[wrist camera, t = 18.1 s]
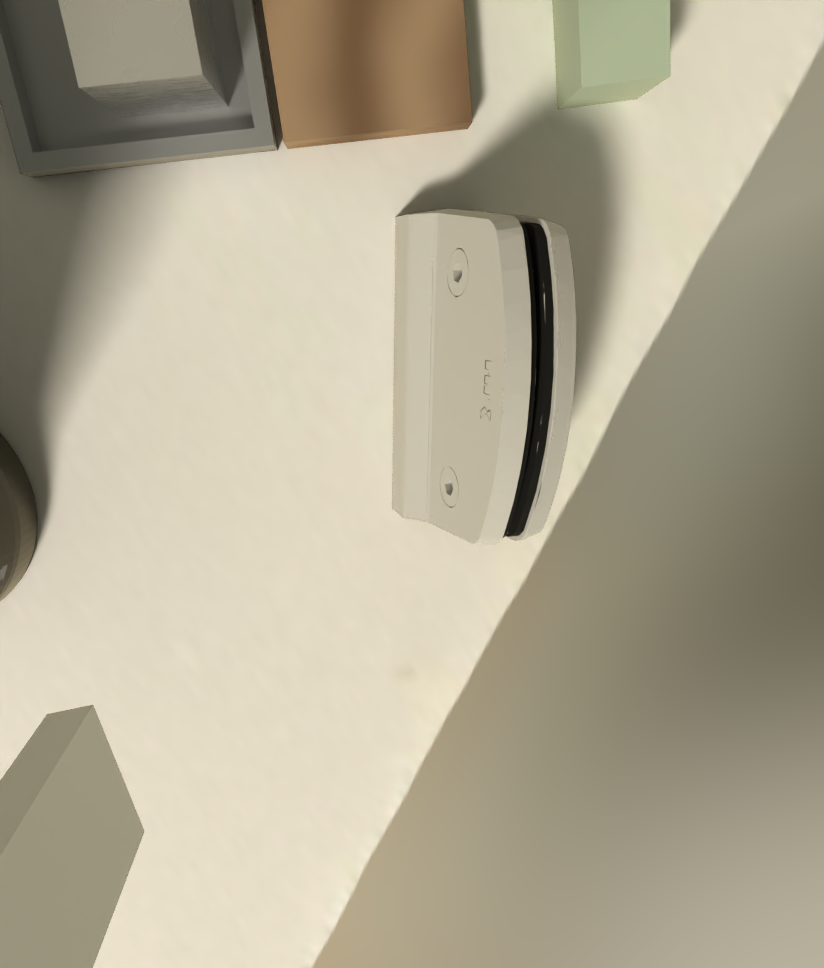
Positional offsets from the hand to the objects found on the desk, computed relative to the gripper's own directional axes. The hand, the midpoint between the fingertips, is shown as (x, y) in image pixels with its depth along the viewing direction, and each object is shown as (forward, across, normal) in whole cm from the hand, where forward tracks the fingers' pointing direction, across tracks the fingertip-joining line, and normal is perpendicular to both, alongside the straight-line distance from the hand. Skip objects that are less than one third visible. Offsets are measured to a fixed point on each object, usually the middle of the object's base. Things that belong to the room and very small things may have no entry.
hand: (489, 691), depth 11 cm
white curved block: (+26, -4, -1) cm, 27 cm away
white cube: (+26, +8, -18) cm, 33 cm away
